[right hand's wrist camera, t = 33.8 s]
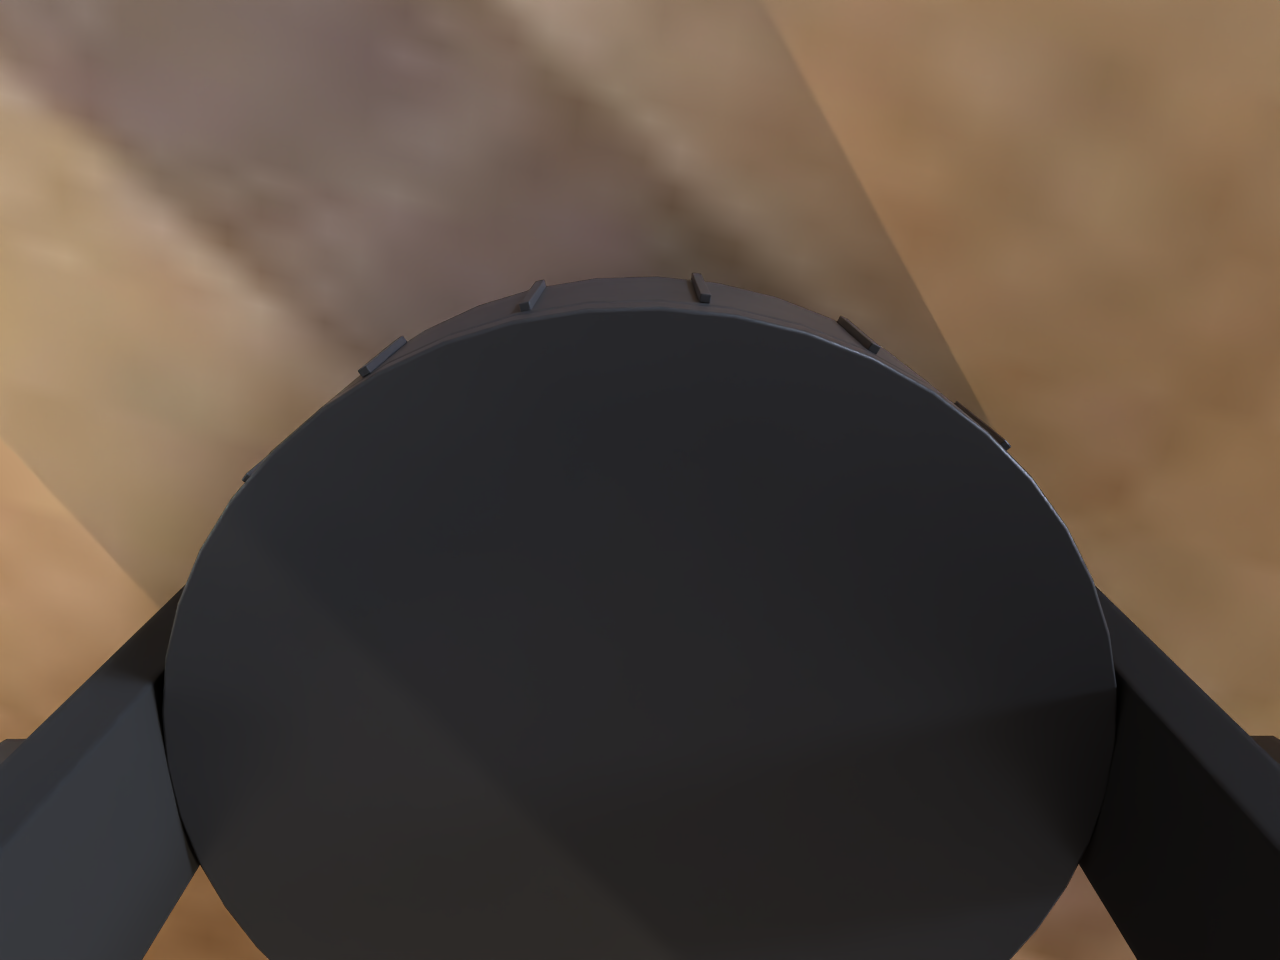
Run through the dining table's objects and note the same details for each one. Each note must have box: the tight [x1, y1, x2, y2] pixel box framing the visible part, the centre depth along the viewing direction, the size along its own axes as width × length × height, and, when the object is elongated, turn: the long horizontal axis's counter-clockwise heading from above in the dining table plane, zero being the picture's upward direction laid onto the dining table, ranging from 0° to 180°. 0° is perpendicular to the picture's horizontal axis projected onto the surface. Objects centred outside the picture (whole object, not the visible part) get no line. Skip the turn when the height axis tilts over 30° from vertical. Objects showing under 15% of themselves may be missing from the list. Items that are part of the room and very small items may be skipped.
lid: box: [162, 273, 1117, 960], centre depth 11 cm, size 11×11×2 cm
